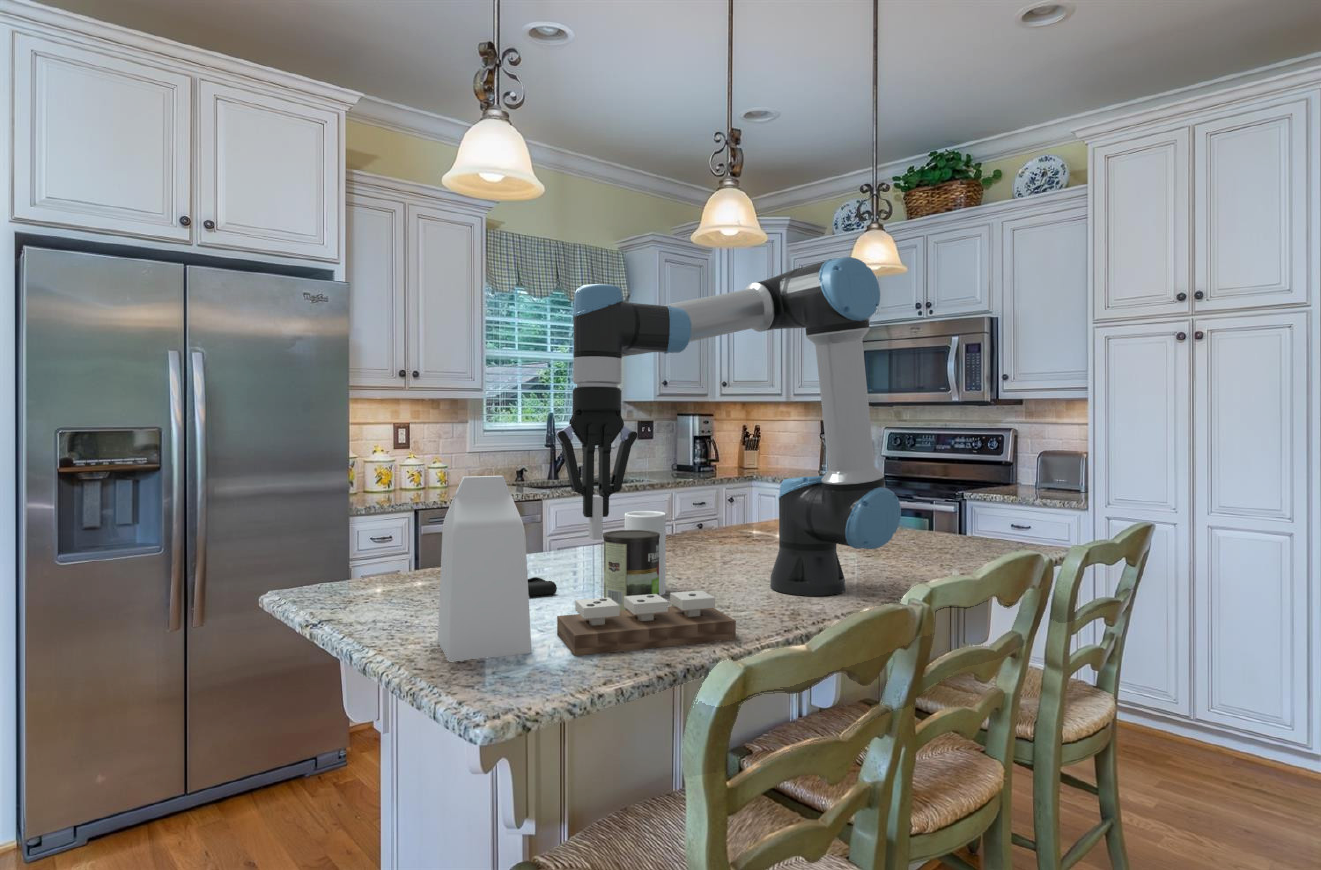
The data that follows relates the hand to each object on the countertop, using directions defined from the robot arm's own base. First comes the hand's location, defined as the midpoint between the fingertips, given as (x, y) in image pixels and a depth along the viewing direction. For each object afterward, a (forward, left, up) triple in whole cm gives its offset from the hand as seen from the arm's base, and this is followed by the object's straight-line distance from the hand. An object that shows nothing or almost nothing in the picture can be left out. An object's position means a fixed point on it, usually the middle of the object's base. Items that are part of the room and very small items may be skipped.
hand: (595, 538), depth 120 cm
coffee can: (-11, -17, -16) cm, 26 cm away
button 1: (-16, 0, -14) cm, 21 cm away
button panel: (-8, 0, -16) cm, 18 cm away
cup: (-18, -30, -16) cm, 39 cm away
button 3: (0, 0, -14) cm, 14 cm away
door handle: (+9, -39, -17) cm, 44 cm away
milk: (+17, -3, -17) cm, 24 cm away
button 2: (-8, 0, -14) cm, 16 cm away
